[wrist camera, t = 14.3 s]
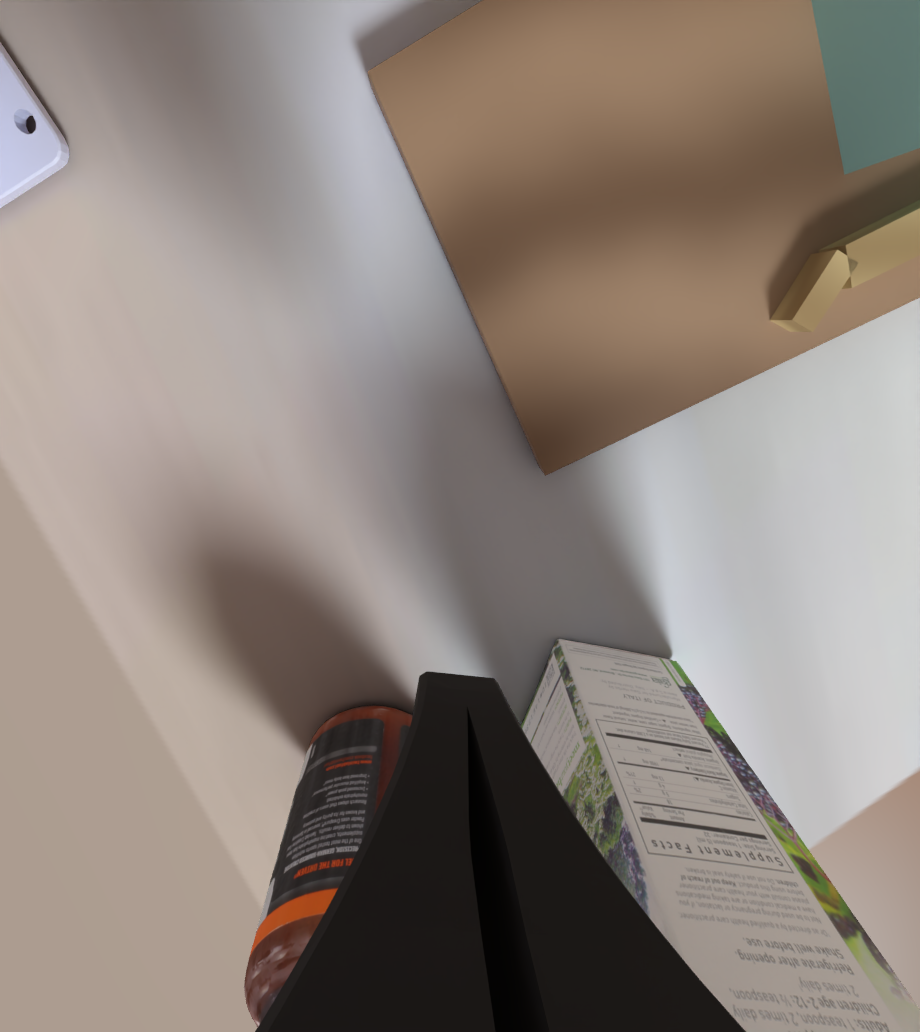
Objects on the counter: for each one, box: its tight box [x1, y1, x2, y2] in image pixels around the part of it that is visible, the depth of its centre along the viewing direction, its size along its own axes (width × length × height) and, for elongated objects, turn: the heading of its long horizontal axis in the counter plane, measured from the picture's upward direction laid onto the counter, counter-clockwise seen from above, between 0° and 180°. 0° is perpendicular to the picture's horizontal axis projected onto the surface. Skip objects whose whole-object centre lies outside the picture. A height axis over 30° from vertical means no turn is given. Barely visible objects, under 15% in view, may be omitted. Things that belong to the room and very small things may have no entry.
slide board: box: [367, 0, 920, 476], centre depth 12 cm, size 12×18×4 cm, turn 116°
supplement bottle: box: [244, 706, 413, 1027], centre depth 17 cm, size 6×6×11 cm
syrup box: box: [521, 639, 920, 1032], centre depth 15 cm, size 6×6×14 cm
